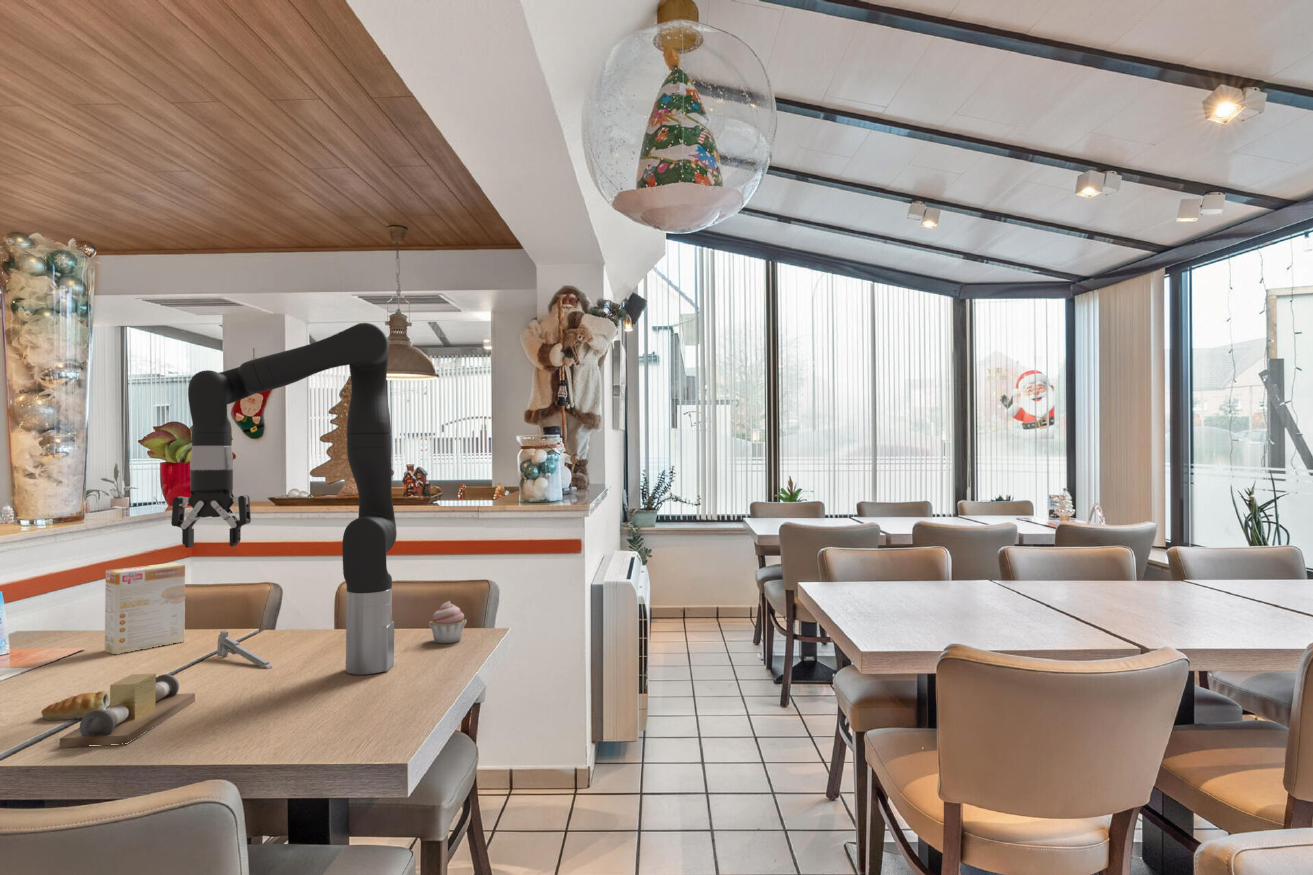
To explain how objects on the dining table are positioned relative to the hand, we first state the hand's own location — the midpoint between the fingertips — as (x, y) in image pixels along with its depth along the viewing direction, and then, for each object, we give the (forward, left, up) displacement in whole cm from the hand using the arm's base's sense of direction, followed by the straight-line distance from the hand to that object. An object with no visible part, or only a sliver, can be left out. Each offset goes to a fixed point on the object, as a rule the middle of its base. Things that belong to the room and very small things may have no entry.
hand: (211, 546), depth 149 cm
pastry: (+14, +17, -28) cm, 36 cm away
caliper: (0, -15, -28) cm, 32 cm away
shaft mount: (+2, +23, -28) cm, 36 cm away
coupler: (+2, +23, -26) cm, 35 cm away
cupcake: (-43, -28, -28) cm, 59 cm away
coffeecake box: (+30, -32, -28) cm, 52 cm away
